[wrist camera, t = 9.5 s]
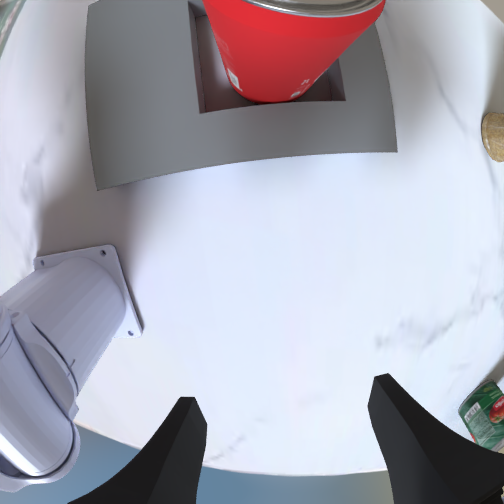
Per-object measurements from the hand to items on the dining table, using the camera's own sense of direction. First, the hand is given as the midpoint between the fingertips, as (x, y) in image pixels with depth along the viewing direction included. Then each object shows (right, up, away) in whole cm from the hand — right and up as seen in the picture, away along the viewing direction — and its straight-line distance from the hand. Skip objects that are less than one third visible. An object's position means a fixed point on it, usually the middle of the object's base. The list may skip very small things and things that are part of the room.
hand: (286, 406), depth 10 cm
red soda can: (0, +17, +5) cm, 18 cm away
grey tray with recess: (-3, +18, +4) cm, 19 cm away
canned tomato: (+34, -17, +18) cm, 42 cm away
